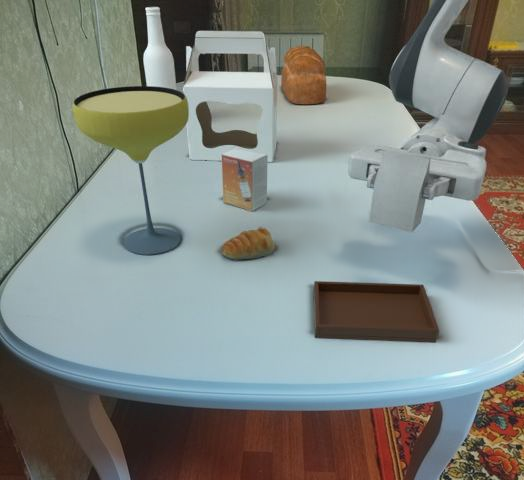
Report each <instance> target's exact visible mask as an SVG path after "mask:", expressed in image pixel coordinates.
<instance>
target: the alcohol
mask: <svg viewBox="0 0 524 480" xmlns="http://www.w3.org/2000/svg"><path fill="white" fill-rule="evenodd" d="M160 10H161V8H160V7H158V6H148V7H147V6H146V7H145V15H146V25H147V26H146V27H147V47H146V49H145V50H144V52H143V57H142V59H143V61H142V62H143V68H144V76H145V82H146V84H145V85H146V86H154V87H164V88H170V89H175V90H178V89H177V80H176V69H175V60H174V56H173V53H172V52H171V50H170V48H168V46H167V45H166V42H165V36H164V31H163V24H162V18H161V11H160Z"/></svg>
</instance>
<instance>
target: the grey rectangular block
mask: <svg viewBox="0 0 524 480" xmlns="http://www.w3.org/2000/svg"><path fill="white" fill-rule="evenodd" d="M430 160H431V159H429V158H424V157H418V156H413V155H408V154H402V153H397V152H392V151H386V150H384V151H383V154H382V158H381V162H380V166H379V169H378V172H377V176H376V179H375V182H374V189H372V195H371V197H372V198H371V204H370V205H371V206H370V211H369V219H368V221H369V223H374V224H378V225H381V226H386V227H390V228H394V229H397V230H400V231H406V232H409V233H413V232H414V231H415V230H416V229H417V228H418V227H419V225H421V223H422V220H423V215H424V209H425V205H426V201H427V199H423V198H422V194H423V188H424V186H425V185H426V184H427V183H429V169H430Z"/></svg>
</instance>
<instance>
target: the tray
mask: <svg viewBox="0 0 524 480" xmlns="http://www.w3.org/2000/svg"><path fill="white" fill-rule="evenodd" d="M313 282H314V284H313V318H314V320H313V321H314V322H313V323H314V325H313V326H314V338H316V339H317V338H319V339H342V340H343V339H344V340H365V341H366V340H369V341H393V342H419V343H422V342H423V343H436V342H437V340H438V336H439V333H440V329H439V326H438V323H437V320H436V318H435V315H434V312H433V308H432V305H431V303H430V300H429V297H428V295H427V291H426V289H425V286H424V284H418V283H417V284H416V283H415V284H414V283H409V284H408V283H385V282H354V281H327V280H326V281H321V280H319V281H318V280H315V281H313Z"/></svg>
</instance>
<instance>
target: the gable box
mask: <svg viewBox="0 0 524 480" xmlns="http://www.w3.org/2000/svg"><path fill="white" fill-rule="evenodd" d="M201 54H202V55H206V54H232V55H236V54H237V55H261V56H262V59H263V71H241V70H240V71H239V70H236V71H235V70H234V71H232V70H228V71H227V70H200V63H199V62H200V61H199V57H200V55H201ZM185 57H186V58H185V61H186V63H185V64H186V65H185V67H186V70H185V71H186V73H185V77H184V81H183V85H182V90H183V91H182V93H184V94H185V96H186V98H187V102H188V108H189V116H188V122H187V124H186V125H185V126H186V135H187V142H188V143H187V146H188V158H189V160H190V161H205V160H207V161H208V162H209V161H210V162H222V154H224V153H226V152H228V151H231V150H233V149H236V148H240V149H243V150H247V151H251V152H256V153H260V154H267V163H274V158H275V154H276V150H277V138H278V137H277V134H278V133H277V130H278V129H277V128H278V126H277V125H278V74H277V73H278V70H277V52H276V46H271V47H269V45H268V44H267V41H266V35H265V33H264V32H263V31H261V30H198V31H196V33H195V37H194V44H193V45H192V46H191V45H186V46H185ZM207 102H218V103H223V104H228V105H242V104H243V105H244V104H254V105H257V106H259V107H260V108H261V110H262V111H261V116H260V119H259V122H258V125H257V129H256V133H251V132H249V131H246V130H242V129H232V130H226V131H222V132H216V131H215V130H213V128H212V123H213V122H212V121H213V117H212V112H211V109H210V106H209V105H208V103H207Z"/></svg>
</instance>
